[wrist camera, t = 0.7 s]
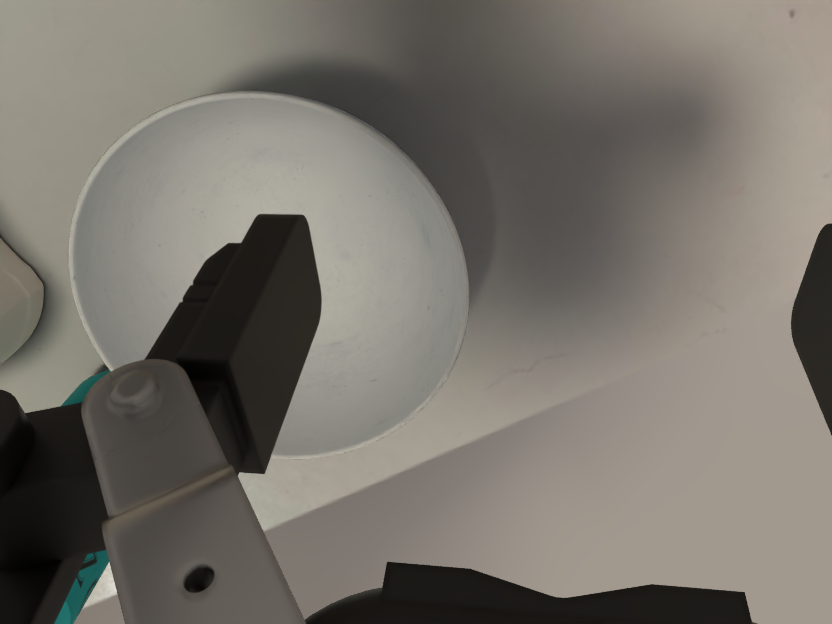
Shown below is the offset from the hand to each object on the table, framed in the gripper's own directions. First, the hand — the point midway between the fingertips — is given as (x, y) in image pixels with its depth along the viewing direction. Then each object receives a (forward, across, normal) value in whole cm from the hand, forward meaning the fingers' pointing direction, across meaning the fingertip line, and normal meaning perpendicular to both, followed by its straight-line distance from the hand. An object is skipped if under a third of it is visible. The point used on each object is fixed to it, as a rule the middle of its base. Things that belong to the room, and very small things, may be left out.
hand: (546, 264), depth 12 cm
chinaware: (+18, +10, +11) cm, 23 cm away
